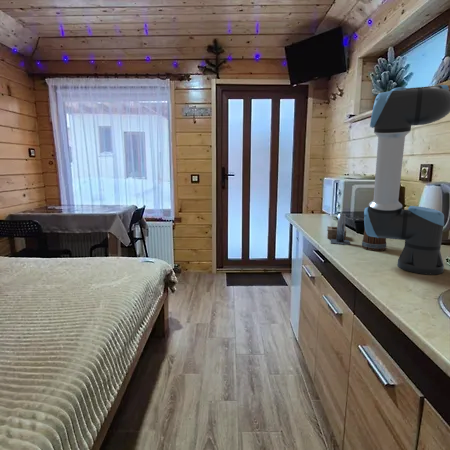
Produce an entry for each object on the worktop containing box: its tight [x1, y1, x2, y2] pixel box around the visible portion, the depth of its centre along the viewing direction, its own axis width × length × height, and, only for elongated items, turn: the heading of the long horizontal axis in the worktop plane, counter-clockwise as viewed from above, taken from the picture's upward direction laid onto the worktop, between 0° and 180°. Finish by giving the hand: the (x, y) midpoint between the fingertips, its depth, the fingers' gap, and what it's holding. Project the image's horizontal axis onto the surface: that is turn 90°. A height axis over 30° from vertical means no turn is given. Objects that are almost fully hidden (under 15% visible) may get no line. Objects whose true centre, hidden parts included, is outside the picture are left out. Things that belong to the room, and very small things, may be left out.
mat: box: [330, 239, 351, 246], centre depth 163 cm, size 9×9×1 cm
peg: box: [336, 213, 347, 242], centre depth 162 cm, size 4×4×14 cm
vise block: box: [326, 226, 347, 240], centre depth 173 cm, size 9×9×5 cm
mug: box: [361, 229, 387, 252], centre depth 153 cm, size 16×11×15 cm
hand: (391, 168), depth 157 cm, fingers open, 13 cm apart
